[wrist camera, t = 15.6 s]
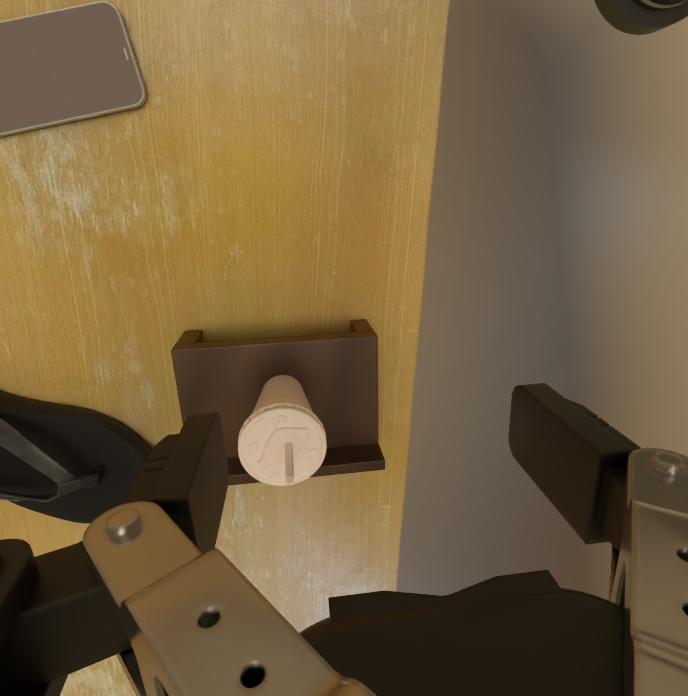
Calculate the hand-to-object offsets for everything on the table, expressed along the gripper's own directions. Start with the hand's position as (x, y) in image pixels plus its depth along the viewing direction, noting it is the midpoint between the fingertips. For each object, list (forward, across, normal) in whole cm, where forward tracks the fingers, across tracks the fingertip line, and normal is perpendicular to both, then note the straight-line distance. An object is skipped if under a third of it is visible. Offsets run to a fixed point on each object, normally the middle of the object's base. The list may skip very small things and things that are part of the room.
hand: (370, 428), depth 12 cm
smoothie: (+28, +4, +11) cm, 30 cm away
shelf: (+33, +4, +12) cm, 36 cm away
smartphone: (+33, +21, -16) cm, 42 cm away
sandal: (+33, +31, +14) cm, 48 cm away
